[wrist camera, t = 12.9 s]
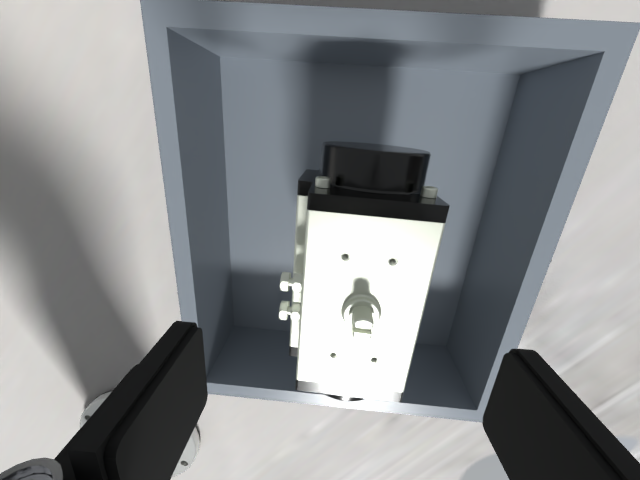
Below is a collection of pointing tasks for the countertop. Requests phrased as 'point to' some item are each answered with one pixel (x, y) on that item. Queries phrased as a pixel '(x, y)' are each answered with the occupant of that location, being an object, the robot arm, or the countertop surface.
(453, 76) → the parts bin
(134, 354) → the countertop surface
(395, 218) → the pneumatic valve
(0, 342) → the countertop surface
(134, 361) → the countertop surface
